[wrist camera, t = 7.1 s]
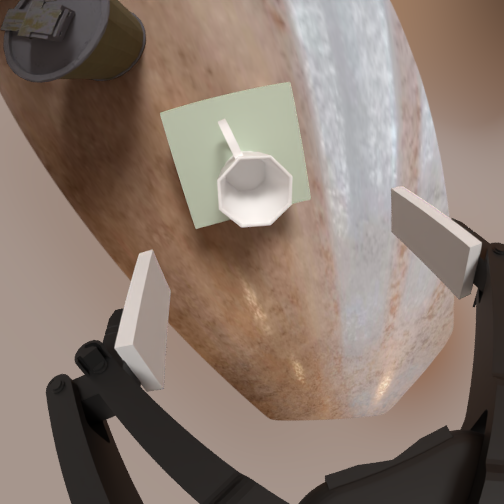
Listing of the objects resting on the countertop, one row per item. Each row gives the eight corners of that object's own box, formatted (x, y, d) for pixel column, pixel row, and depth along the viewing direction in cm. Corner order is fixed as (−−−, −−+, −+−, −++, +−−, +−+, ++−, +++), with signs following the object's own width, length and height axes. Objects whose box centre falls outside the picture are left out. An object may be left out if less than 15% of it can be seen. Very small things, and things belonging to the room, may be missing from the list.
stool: (168, 108, 37) (159, 113, 30) (273, 82, 37) (290, 82, 30) (196, 203, 44) (195, 229, 37) (292, 178, 44) (310, 199, 37)
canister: (159, 18, 30) (123, -33, 13) (127, 89, 35) (66, 94, 17) (88, 3, 27) (15, -39, 10) (59, 71, 31) (-31, 75, 14)
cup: (228, 208, 36) (235, 241, 29) (188, 131, 31) (184, 144, 24) (284, 183, 36) (305, 209, 29) (249, 102, 30) (264, 107, 24)
